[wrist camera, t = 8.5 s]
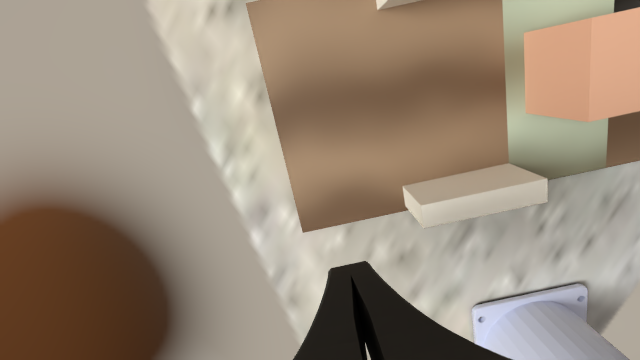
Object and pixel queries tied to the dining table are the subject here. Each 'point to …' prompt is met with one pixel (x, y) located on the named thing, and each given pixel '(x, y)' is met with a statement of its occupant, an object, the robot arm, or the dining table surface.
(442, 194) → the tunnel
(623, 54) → the block
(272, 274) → the dining table surface
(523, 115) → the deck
